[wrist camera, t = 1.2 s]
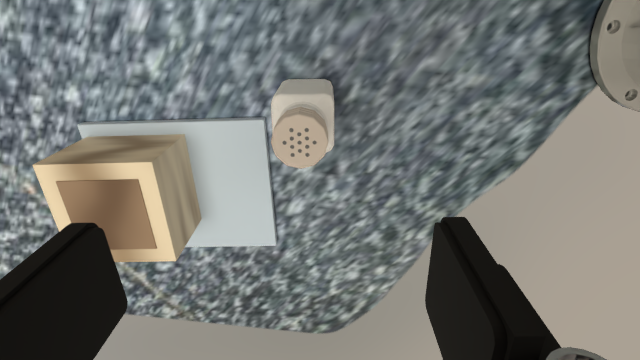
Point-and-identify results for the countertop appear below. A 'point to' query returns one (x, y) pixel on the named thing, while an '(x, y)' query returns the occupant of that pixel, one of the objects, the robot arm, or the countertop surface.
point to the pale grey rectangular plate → (218, 175)
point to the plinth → (126, 192)
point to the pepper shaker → (302, 121)
